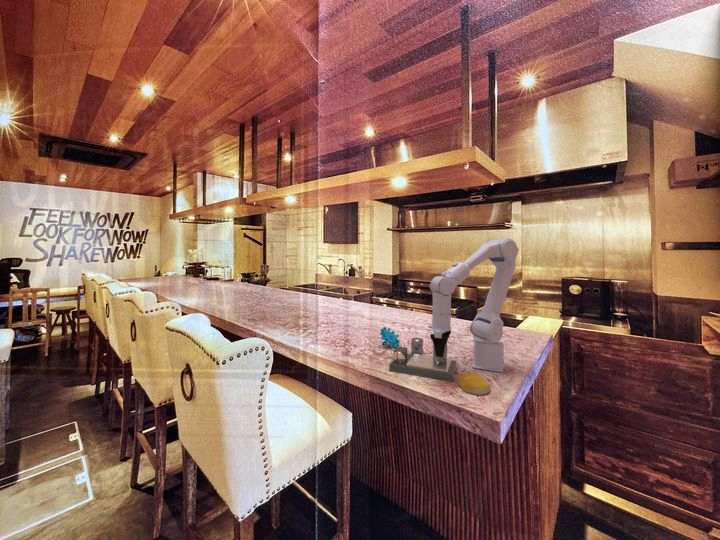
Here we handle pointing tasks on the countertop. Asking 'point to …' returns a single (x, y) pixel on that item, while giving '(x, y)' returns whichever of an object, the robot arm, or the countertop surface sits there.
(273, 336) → the countertop surface
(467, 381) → the bread roll
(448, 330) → the robot arm
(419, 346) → the cylinder
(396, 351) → the grey fixture base
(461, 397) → the countertop surface
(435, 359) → the cylinder
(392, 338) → the gear
